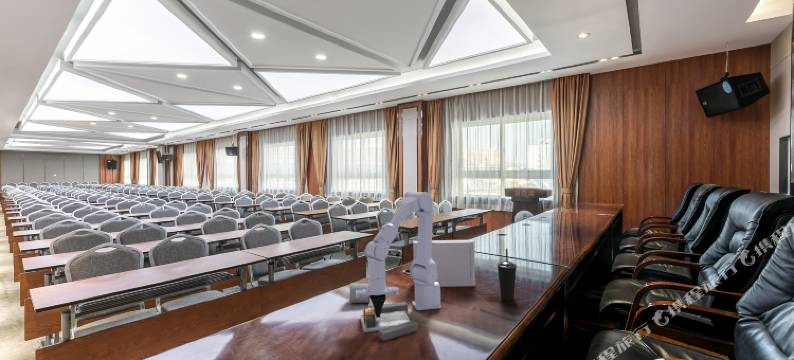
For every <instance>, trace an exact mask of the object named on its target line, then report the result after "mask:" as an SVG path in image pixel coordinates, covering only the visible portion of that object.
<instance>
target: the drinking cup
mask: <svg viewBox="0 0 794 360" xmlns="http://www.w3.org/2000/svg"><path fill="white" fill-rule="evenodd" d="M508 253H509V252H508V248H505V261H500V262H498V263H497V264H496V267H497V272H498V273H497V274H498V281H499V290H500V299H501V300H502V301H506V302H510V301H511V302H512V301H514V300H515V289H516V275H517V267H518V265H517V264H516V263H514V262H512V261H509V256H508V255H509V254H508Z"/></svg>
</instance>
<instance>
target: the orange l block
mask: <svg viewBox="0 0 794 360" xmlns="http://www.w3.org/2000/svg"><path fill="white" fill-rule="evenodd" d="M365 315H375V311H374V308H368V309H365ZM365 321H366V317H365Z"/></svg>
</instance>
